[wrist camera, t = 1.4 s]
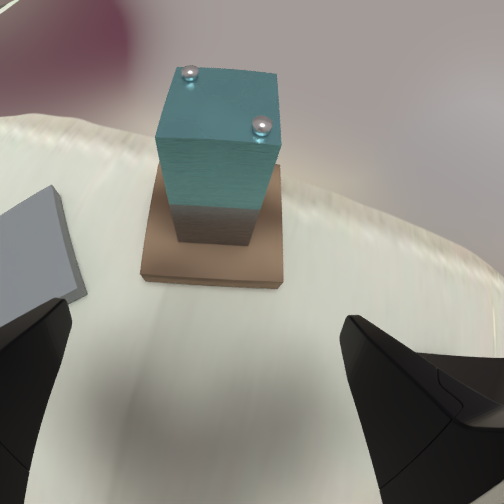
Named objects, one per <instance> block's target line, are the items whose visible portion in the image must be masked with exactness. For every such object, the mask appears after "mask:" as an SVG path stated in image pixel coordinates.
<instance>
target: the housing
mask: <svg viewBox="0 0 504 504" xmlns="http://www.w3.org/2000/svg"><path fill="white" fill-rule="evenodd" d="M155 140H156V145H157V150H158V155H159V160H160V165H161V170H162V175H163V179H164V184H165V188H166V193H167V197H168V202H169V206H170V210H171V215H172V219H173V223H174V227H175V231H176V235H177V239H178V242H183V243H200V244H217V245H234V246H249V243H250V240H251V237H252V234H253V231H254V228H255V225H256V222H257V219H258V215H259V212H260V209H261V206H262V203H263V200H264V197H265V194H266V191H267V188H268V185H269V182H270V179H271V176H272V173H273V170H274V166H275V163H276V160H277V157H278V154H279V151H280V148H281V130H280V114H279V99H278V85H277V75H276V74H272V73H265V72H256V71H246V70H235V69H221V68H198V67H196V66H193V65H190V66H185V67H177V68H176V72H175V74H174V77H173V80H172V83H171V86H170V89H169V92H168V95H167V98H166V102H165V105H164V108H163V111H162V115H161V118H160V121H159V125H158V129H157V132H156V136H155Z"/></svg>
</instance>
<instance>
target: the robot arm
mask: <svg viewBox="0 0 504 504" xmlns="http://www.w3.org/2000/svg"><path fill="white" fill-rule="evenodd" d="M71 327H72V318H71V314H70V311H69V307H68V303H67V301H66V299H64V298H57V297H55V298H52V299H50V300H49V301H47V302H45V303H43V304H41V305H39V306H37V307H36V308H34V309H32V310H30V311H28V312H26V313H25V314H23V315H21V316H19V317H17V318H16V319H14V320H12V321H10V322H8V323H7V324H5V325H3V326H1V327H0V504H24V499H25V493H26V488H27V482H28V477H29V471H30V466H31V462H32V458H33V453H34V449H35V445H36V441H37V437H38V434H39V430H40V426H41V423H42V419H43V416H44V413H45V410H46V406H47V403H48V400H49V397H50V394H51V391H52V388H53V385H54V382H55V379H56V377H57V374H58V371H59V368H60V365H61V362H62V359H63V355H64V351H65V348H66V344H67V340H68V337H69V333H70V330H71ZM340 345H341V350H342V355H343V360H344V365H345V370H346V375H347V379H348V383H349V386H350V390H351V393H352V396H353V399H354V402H355V406H356V409H357V412H358V415H359V419H360V422H361V425H362V429H363V432H364V436H365V439H366V443H367V446H368V450H369V453H370V457H371V460H372V464H373V468H374V471H375V475H376V479H377V483H378V486H379V489H380V490H379V491H380V495H381V499H382V503H383V504H504V405H502V404H499V403H497V402H494V401H493V400H491V399H489V398H487V397H486V396H484V395H482V394H480V393H478V392H477V391H475V390H473V389H471V388H470V387H468V386H466V385H464V384H463V383H461V382H459V381H458V380H456V379H454V378H453V377H451V376H450V375H448V374H447V373H445V372H444V371H442V370H441V369H439V368H437V367H436V366H435V365H433V364H432V363H430V362H429V361H427V360H426V359H424V358H423V357H421V356H420V355H418V354H417V353H415V352H414V351H412V350H411V349H410V348H408V347H407V346H405V345H404V344H402V343H401V342H399V341H398V340H396V339H395V338H393V337H392V336H390V335H389V334H387V333H386V332H384V331H383V330H381V329H380V328H378V327H377V326H375V325H374V324H372V323H371V322H369V321H368V320H366V319H365V318H363V317H362V316H360V315H348V316H347V317H346V319H345V322H344V325H343V328H342V330H341V333H340Z"/></svg>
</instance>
